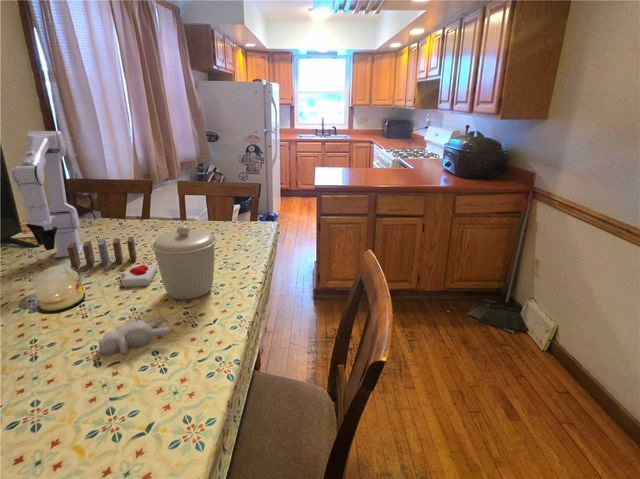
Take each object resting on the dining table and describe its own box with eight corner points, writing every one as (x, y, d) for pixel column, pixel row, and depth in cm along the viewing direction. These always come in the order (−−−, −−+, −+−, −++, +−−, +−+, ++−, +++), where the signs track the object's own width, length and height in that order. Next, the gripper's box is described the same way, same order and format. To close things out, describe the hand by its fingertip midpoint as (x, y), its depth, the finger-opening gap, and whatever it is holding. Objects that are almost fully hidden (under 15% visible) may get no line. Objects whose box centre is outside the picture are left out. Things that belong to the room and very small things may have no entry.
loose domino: (102, 266, 132) (97, 244, 129) (104, 260, 136) (100, 239, 134) (107, 265, 133) (103, 244, 130) (109, 260, 137) (105, 239, 134)
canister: (231, 283, 121) (227, 220, 114) (197, 311, 105) (189, 240, 98) (184, 274, 127) (177, 214, 119) (144, 300, 111) (133, 231, 103)
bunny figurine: (96, 328, 90) (162, 306, 96) (103, 345, 92) (167, 323, 98) (96, 350, 82) (168, 325, 89) (104, 368, 84) (173, 342, 91)
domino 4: (130, 262, 135) (127, 241, 132) (131, 257, 140) (128, 237, 137) (135, 262, 136) (132, 241, 133) (136, 257, 140) (133, 236, 137)
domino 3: (116, 264, 134) (112, 243, 131) (118, 259, 138) (114, 238, 135) (121, 263, 134) (117, 242, 131) (123, 258, 139) (119, 238, 136)
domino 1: (72, 269, 129) (67, 247, 126) (75, 263, 133) (70, 242, 131) (77, 269, 130) (72, 247, 127) (80, 263, 134) (75, 242, 131)
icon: (125, 260, 127) (157, 259, 129) (127, 272, 129) (158, 270, 130) (113, 276, 116) (147, 274, 117) (115, 289, 117) (149, 287, 119)
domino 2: (87, 267, 131) (82, 246, 128) (89, 262, 135) (85, 241, 132) (92, 267, 131) (88, 245, 128) (95, 261, 136) (90, 240, 133)
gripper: (59, 207, 114) (69, 248, 119) (43, 198, 123) (53, 238, 128) (31, 211, 109) (42, 255, 114) (17, 202, 118) (28, 243, 123)
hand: (46, 246), depth 121 cm, fingers open, 6 cm apart
